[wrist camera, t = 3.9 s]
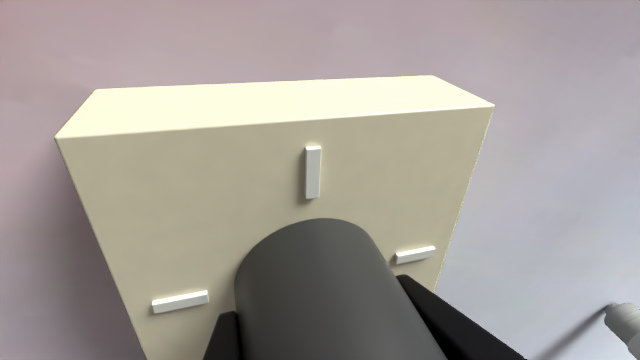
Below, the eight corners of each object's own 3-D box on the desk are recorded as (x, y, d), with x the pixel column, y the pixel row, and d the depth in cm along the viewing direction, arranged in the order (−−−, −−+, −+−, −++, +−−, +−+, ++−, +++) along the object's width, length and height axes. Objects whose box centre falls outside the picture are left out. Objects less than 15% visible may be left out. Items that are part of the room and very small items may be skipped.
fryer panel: (388, 280, 16) (422, 338, 14) (170, 327, 14) (163, 409, 11) (432, 74, 11) (501, 106, 9) (94, 88, 9) (47, 139, 6)
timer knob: (240, 336, 11) (262, 549, 7) (225, 230, 8) (244, 462, 4) (367, 306, 12) (448, 473, 8) (385, 206, 9) (512, 373, 6)
